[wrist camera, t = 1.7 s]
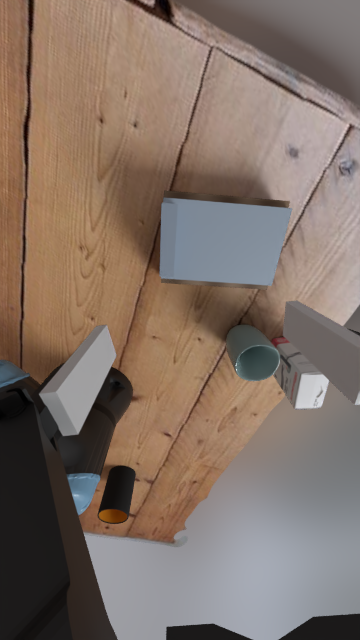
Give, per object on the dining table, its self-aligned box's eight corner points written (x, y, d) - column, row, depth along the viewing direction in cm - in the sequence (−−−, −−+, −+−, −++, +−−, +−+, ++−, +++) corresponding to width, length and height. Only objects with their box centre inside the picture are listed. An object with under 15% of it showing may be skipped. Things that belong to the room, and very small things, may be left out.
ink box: (270, 337, 42) (302, 374, 31) (293, 335, 42) (334, 371, 31) (267, 369, 46) (295, 411, 35) (288, 367, 46) (323, 409, 35)
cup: (220, 350, 43) (231, 381, 34) (224, 318, 40) (238, 343, 31) (254, 350, 44) (275, 382, 35) (261, 319, 40) (286, 344, 31)
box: (163, 277, 36) (161, 282, 32) (165, 196, 31) (164, 190, 27) (256, 283, 37) (266, 289, 33) (275, 205, 32) (289, 201, 28)
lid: (161, 276, 32) (159, 283, 28) (163, 198, 27) (161, 193, 23) (268, 283, 33) (281, 291, 29) (287, 209, 28) (306, 205, 24)
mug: (108, 485, 65) (96, 529, 55) (110, 464, 60) (97, 507, 51) (133, 488, 66) (126, 530, 56) (136, 467, 61) (129, 510, 51)
